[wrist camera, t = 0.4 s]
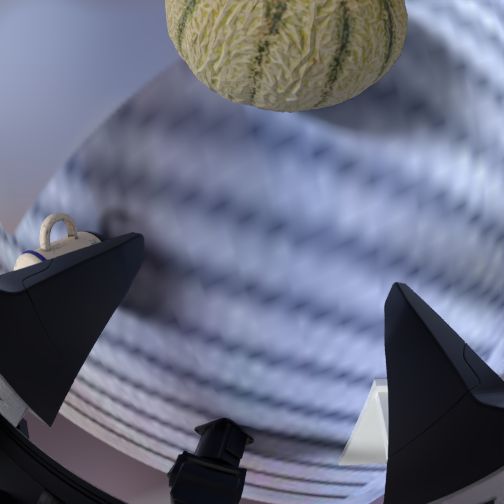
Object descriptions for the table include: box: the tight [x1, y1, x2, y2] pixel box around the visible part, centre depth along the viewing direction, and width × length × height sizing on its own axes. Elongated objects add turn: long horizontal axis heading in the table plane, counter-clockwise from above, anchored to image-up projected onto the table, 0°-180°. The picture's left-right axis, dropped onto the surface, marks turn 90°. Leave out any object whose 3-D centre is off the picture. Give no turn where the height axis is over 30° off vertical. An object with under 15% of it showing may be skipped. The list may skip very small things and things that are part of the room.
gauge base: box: [339, 379, 388, 465], centre depth 21 cm, size 18×19×17 cm
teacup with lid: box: [14, 213, 101, 271], centre depth 23 cm, size 12×9×12 cm
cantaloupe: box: [165, 0, 407, 113], centre depth 12 cm, size 15×15×15 cm
